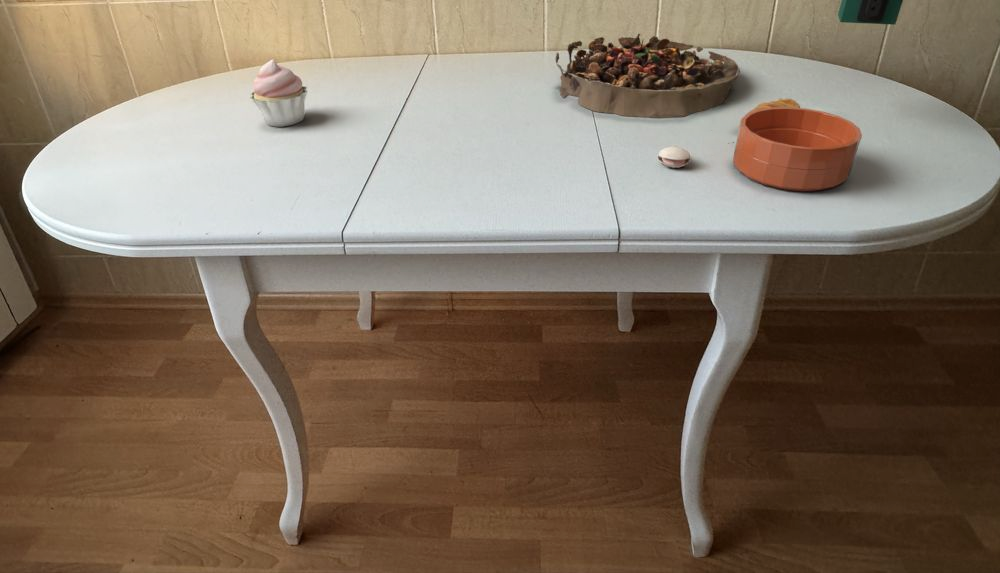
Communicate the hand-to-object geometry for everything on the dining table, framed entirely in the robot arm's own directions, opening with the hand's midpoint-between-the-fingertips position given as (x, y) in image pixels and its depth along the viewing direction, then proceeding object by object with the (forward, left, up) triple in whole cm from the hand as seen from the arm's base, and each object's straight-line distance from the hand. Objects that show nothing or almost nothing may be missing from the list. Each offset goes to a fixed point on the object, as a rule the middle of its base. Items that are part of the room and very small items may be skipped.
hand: (867, 15), depth 89 cm
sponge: (0, 0, -1) cm, 1 cm away
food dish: (+32, -11, -16) cm, 37 cm away
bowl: (+8, +21, -15) cm, 27 cm away
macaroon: (+23, +23, -16) cm, 36 cm away
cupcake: (+87, +22, -16) cm, 91 cm away
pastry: (+10, +6, -16) cm, 19 cm away
